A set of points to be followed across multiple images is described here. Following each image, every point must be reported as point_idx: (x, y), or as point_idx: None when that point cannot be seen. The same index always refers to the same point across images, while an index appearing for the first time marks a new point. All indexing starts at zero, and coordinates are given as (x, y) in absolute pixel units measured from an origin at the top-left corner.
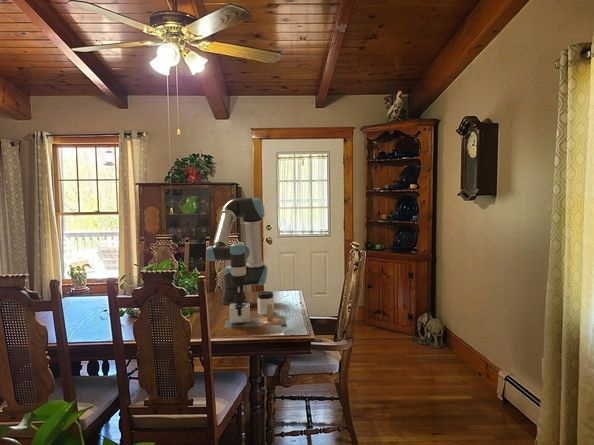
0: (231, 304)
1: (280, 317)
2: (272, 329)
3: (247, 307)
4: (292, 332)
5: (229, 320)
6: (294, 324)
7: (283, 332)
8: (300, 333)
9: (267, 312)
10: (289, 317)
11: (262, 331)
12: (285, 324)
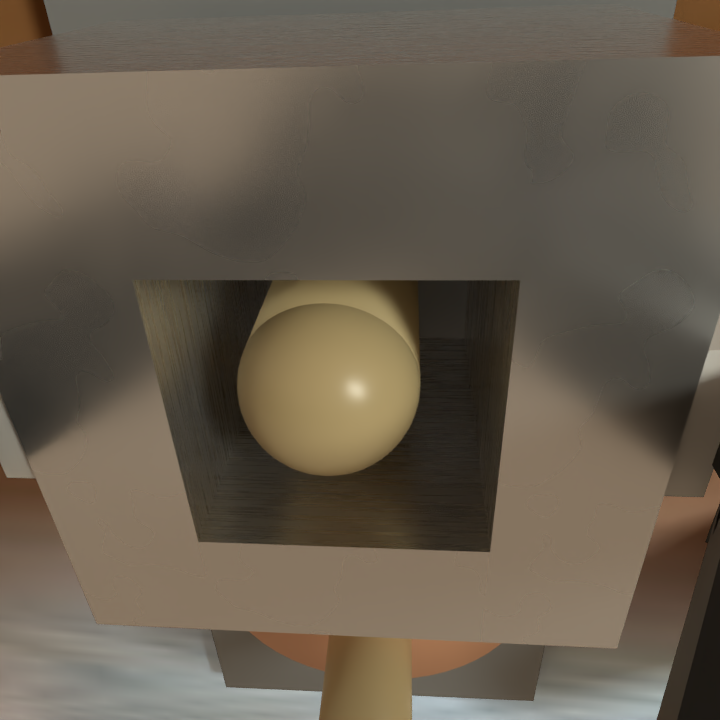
0: (599, 144)
1: (513, 677)
2: None
3: (99, 589)
4: (34, 680)
5: (91, 27)
6: (289, 717)
7: (23, 631)
8: (14, 715)
9: (336, 687)
10: (561, 717)
11: (29, 482)
12: (225, 681)
